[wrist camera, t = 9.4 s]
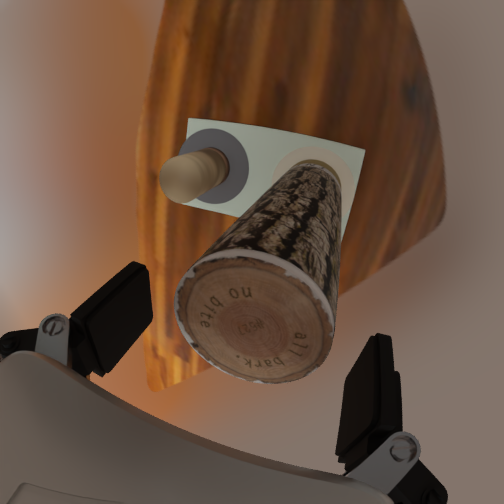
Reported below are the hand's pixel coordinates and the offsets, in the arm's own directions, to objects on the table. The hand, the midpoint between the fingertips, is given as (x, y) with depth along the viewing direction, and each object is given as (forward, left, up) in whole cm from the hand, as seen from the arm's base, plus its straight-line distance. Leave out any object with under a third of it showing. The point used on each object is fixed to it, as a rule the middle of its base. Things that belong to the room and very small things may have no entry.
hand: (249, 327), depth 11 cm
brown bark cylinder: (0, 0, -25) cm, 25 cm away
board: (0, -6, -26) cm, 27 cm away
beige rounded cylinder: (0, -13, -25) cm, 28 cm away
